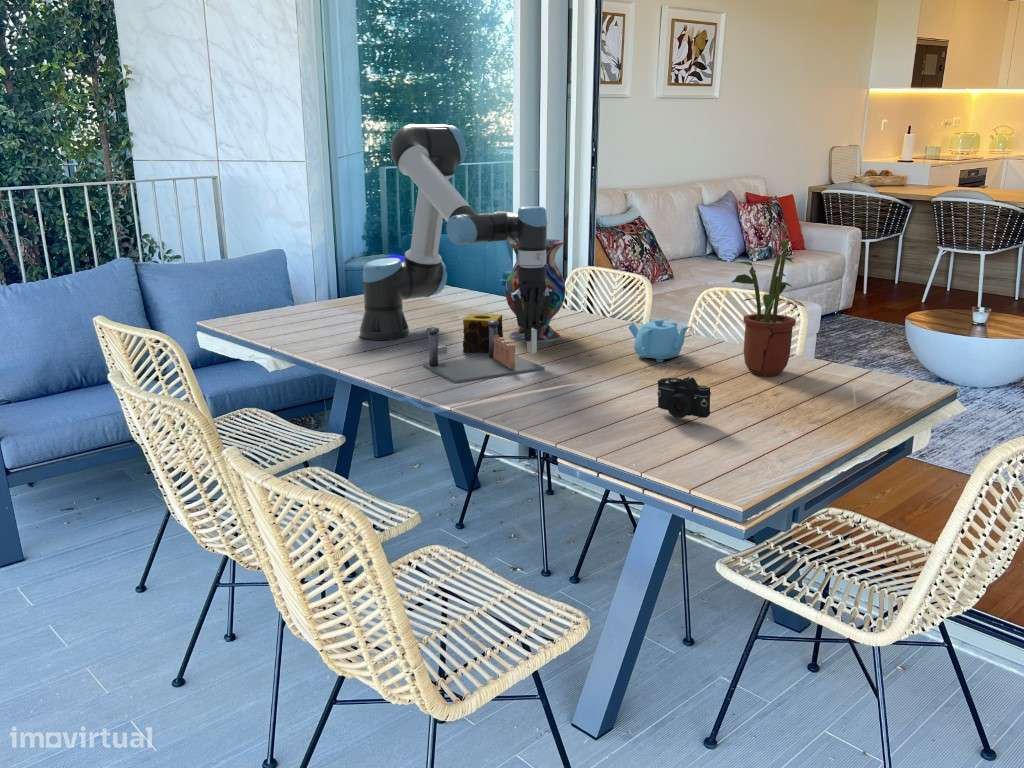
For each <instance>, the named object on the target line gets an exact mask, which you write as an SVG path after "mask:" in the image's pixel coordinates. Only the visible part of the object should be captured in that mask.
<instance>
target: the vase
mask: <svg viewBox="0 0 1024 768" xmlns="http://www.w3.org/2000/svg"><path fill="white" fill-rule="evenodd" d="M563 244H564V241H562V240H560V239H555V238H546V264H545V265H544V266H545V267H546V280H545V283H546V285H547V288H548V289H550V290H553V291H554V294H553V296H552V298H551V301H550V306H549V310H548V315H547V320H546V324H545V326H541V327H542V328H541V329H539V340H537V344H541V343H542V344H543V343H549V342H554V341H558V340H559V339H560V338H561V337H562V336H561V334H560V333H558V332H557V331H556V330H554V329H553V328H552V327H551V325H550V323H551V321H552V319H553V318H554V317H555V316H556V315H557V314H558V312H559V311H560V309H562V306H563V304H564V301H565V297H566V296H565V295H566V285H565V279H564V276H563V275H562V272H561V271H560V270H559V267H558V265H557V263H556V254H557V252H558V250H559V249H560V248H561V247H562V245H563ZM508 245H509V246H510V247H511V248H512V250H513V251H514V253H515V260H516V261H515V262H514V263H515V264H514V266H513V267H512V269H511V271H510V272H509V274H508V276H507V278H506V283H505V290H504V291H505V299H506V302H507V306H509V307H508V308H509V309H510V310H511V312H512V313H513V314H514V315H515V316H516V314H515V309H514V304H513V301H512V299H511V298H510V293H514V292H515V291H516V290H517V287H518V284H519V280H518V268H519V266H520V265H519V264H518V242H517V241H508ZM520 296H521V295H520ZM542 297H543V295H542ZM542 297H541V302H542ZM520 300H521V302H522V307H523V312H524V304H523V298H522V296H521V298H520ZM540 306H541V304H540ZM532 328H533V327H532ZM508 338H509V339H510V340H513V341H516V342H521V343H527V341H525V330H524V328H522V327H519V326H518V328H516V329H515V330H514V331H512V332H511V333H510V334H509V335H508Z"/></svg>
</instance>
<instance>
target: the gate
mask: <svg viewBox="0 0 1024 768" xmlns="http://www.w3.org/2000/svg"><path fill="white" fill-rule="evenodd" d="M493 342H494V353H493V358H494V359H496V360H497V361H499V362H500V363H502V364H503V365H505V366H506V367H508V368H509V369H515V355H516V344H515V343H510V340H505V338H504V337H503V338H500V337H499V335H494V337H493Z"/></svg>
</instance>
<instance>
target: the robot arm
mask: <svg viewBox="0 0 1024 768" xmlns="http://www.w3.org/2000/svg"><path fill="white" fill-rule="evenodd" d="M390 155H391V159H392V161H393V163H394V166H396V168H397V169H398V171H399V172H400V173H401V174H402V175H404V176H408V177H409V178H410V179H411V181H412V182H413V183H414V184H415V185H416V187H417V188H418V190H417V198H416V204H415V212H414V221H413V227H412V235H411V242H410V248H409V249H408V250H406V251H405V252H404V256H405V257H404V262H401V260H400V259H398V258H387V257H385V258H386V259H385V258H378V259H375V260H370V261H369V262H367V263H365V264H364V266H363V268H362V269H363V271H362V283H363V301H364V313H363V315H362V320H361V324H360V327H359V336H360V337H361V338H362V339H366V340H370V341H371V340H373V341H390V340H400V339H404V338H407V337H408V336H409V335H410V328H409V327H410V326H409V325H408V321H407V319H406V316H405V313H404V311H403V308H404V307H403V301H404V300H410V299H419V298H420V299H421V298H429V297H431V296H432V297H433V296H436V295H438V294H440V293H441V292H442V291H443V290H444V289H445V286H446V284H447V279H448V272H447V271H446V270H447V267H446V264H445V263H444V261H443V258H442V255H440V254H439V249H440V241H441V234H442V227H443V222H444V221H445V222H446V223H447V224H446V227H445V228H446V234H447V235H448V240H450V242H451V243H453V244H456V245H471V244H472V245H473V244H482V243H494V242H495V243H496V242H506V241H508V242H509V241H517V242H518V264H519V265H520V266H519V268H518V280H519V284H518V287H517V290H516V291H515V292H514V293H510V298H511V299H512V301H513V304H514V309H515V314H516V315H515V314H514V315H515V317H516V323H517V326H518V328H519V327H522V328H524V330H525V341H527V342H526V352H527V353H530V354H537V352H538V349H537V348H538V343H537V340H539V329H541V328H542V327H541V326H545V324H546V320H547V315H548V310H549V306H550V301H551V298H552V296H553V294H554V291H553V290H550V289H548V288H547V285H546V283H545V280H546V267H545V266H544V265H545V264H546V239H548V238H547V236H548V235H547V234H548V231H547V229H548V226H547V225H548V222H547V221H548V219H547V217H548V216H547V210H546V208H545V207H544V206H539V205H538V206H534V205H529V206H528V205H527V206H525V205H524V206H520V207H518V211H517V212H511V211H510V212H509V211H505V210H503V211H495V212H492V213H476V210H474V209H473V207H471V205H470V204H469V203H468V202H467V201H466V199H464V197H463V196H462V195H461V193H459V192H458V190H457V189H456V187H455V186H454V185H452V183H451V182H450V181H449V179H450V178H452V177H454V176H455V173H456V168H457V167H459V166H460V165H462V164H463V163H464V162H465V160H466V157H467V143H466V140H465V138H464V135H463V133H462V131H461V130H460V129H459V128H458V127H457V126H454V125H449V124H444V123H440V124H432V123H431V124H427V123H425V124H424V123H423V124H418V123H417V124H415V123H409V124H407V125H405V126H402V127H401V128H399V129H398V130H397V131H396V132H395V134H394V136H393V137H392V140H391V142H390ZM443 220H444V221H443ZM520 295H521V296H522V298H523V304H524V312H523V307H522V302H521V300H520V298H521V296H520ZM542 295H543V297H542ZM541 297H542V302H541ZM540 304H541V306H540ZM532 327H533V328H532Z"/></svg>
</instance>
